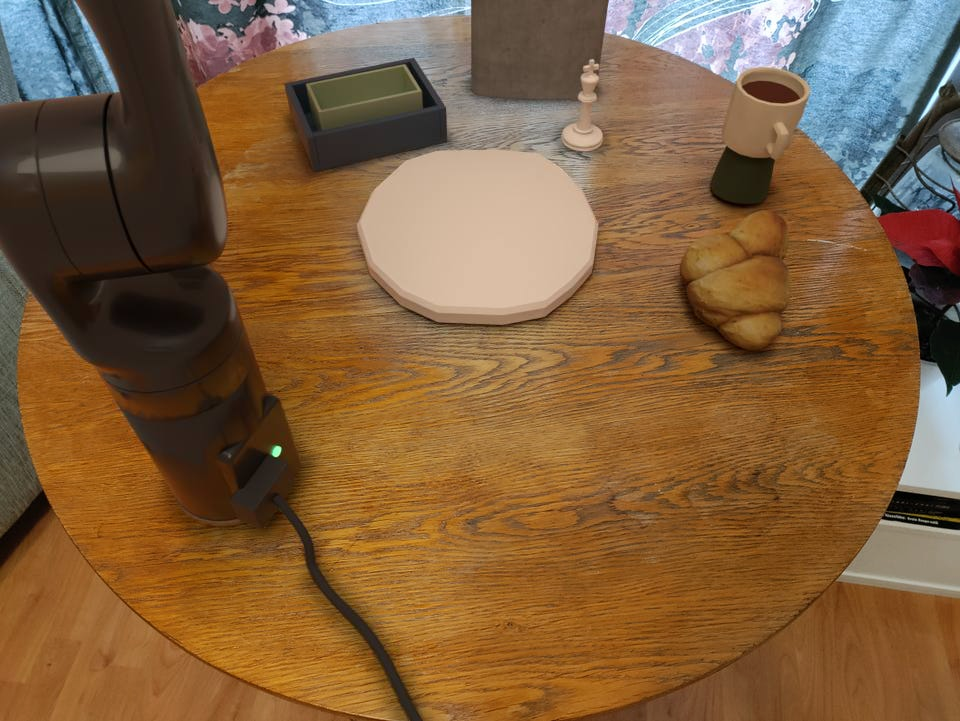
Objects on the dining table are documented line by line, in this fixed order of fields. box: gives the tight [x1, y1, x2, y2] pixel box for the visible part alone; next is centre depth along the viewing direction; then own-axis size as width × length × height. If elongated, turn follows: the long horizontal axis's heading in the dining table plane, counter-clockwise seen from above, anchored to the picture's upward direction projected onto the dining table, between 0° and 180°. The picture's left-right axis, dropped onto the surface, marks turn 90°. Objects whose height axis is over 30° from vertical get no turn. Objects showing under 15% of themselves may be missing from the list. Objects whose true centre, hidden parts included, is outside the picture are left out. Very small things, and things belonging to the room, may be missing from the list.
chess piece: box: [560, 59, 604, 152], centre depth 87 cm, size 5×5×10 cm
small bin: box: [306, 64, 423, 131], centre depth 89 cm, size 12×6×5 cm, turn 111°
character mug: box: [709, 66, 811, 205], centre depth 80 cm, size 11×7×13 cm, turn 6°
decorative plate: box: [355, 149, 600, 326], centre depth 78 cm, size 25×4×25 cm
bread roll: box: [678, 209, 792, 351], centre depth 70 cm, size 13×10×8 cm
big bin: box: [283, 57, 448, 173], centre depth 90 cm, size 16×12×5 cm
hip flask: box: [470, 0, 610, 101], centre depth 89 cm, size 16×4×20 cm, turn 88°
